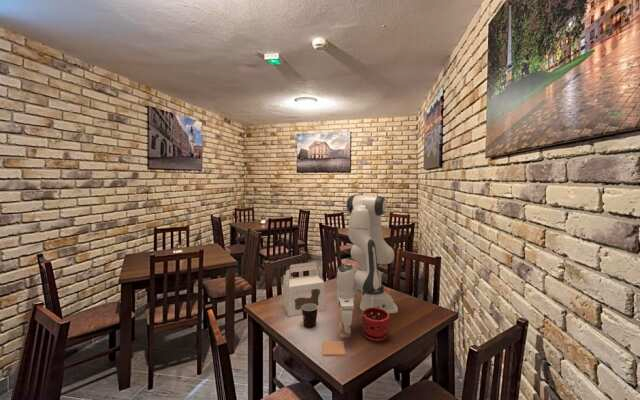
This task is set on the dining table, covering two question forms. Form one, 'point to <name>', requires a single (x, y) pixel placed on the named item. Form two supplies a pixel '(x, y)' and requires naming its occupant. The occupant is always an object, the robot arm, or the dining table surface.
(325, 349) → the plate
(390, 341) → the dining table surface
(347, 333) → the beech cube
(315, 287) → the gable box
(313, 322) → the coffee mug
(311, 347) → the dining table surface
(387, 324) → the plant pot
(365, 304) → the robot arm
